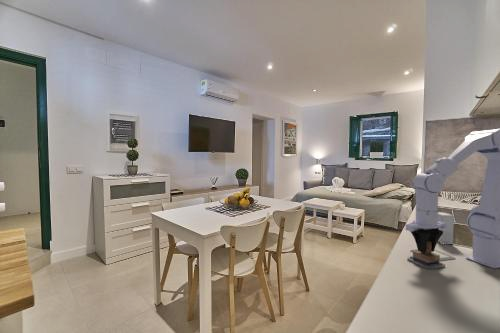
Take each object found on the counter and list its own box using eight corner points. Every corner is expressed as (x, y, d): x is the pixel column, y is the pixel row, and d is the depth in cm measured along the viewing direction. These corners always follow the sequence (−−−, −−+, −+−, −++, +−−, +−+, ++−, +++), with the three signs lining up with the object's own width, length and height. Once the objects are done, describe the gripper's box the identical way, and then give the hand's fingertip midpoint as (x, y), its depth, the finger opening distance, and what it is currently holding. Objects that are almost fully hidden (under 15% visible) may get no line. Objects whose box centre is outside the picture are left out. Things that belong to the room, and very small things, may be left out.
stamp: (423, 256, 78) (424, 237, 78) (439, 262, 74) (439, 242, 73) (412, 257, 77) (413, 239, 77) (428, 264, 72) (428, 244, 72)
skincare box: (453, 245, 92) (454, 215, 91) (441, 244, 92) (442, 215, 92) (444, 240, 98) (444, 212, 97) (432, 239, 98) (433, 211, 98)
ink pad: (423, 258, 80) (423, 254, 80) (445, 267, 73) (445, 263, 73) (407, 260, 78) (407, 256, 78) (427, 269, 71) (427, 265, 71)
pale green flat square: (429, 248, 88) (429, 247, 88) (455, 258, 79) (455, 257, 79) (410, 251, 86) (410, 249, 86) (434, 261, 77) (434, 259, 77)
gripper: (431, 206, 81) (431, 244, 81) (397, 208, 77) (397, 248, 78) (453, 210, 74) (452, 252, 74) (417, 213, 70) (416, 256, 71)
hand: (425, 251), depth 75 cm, fingers closed on stamp, 3 cm apart
